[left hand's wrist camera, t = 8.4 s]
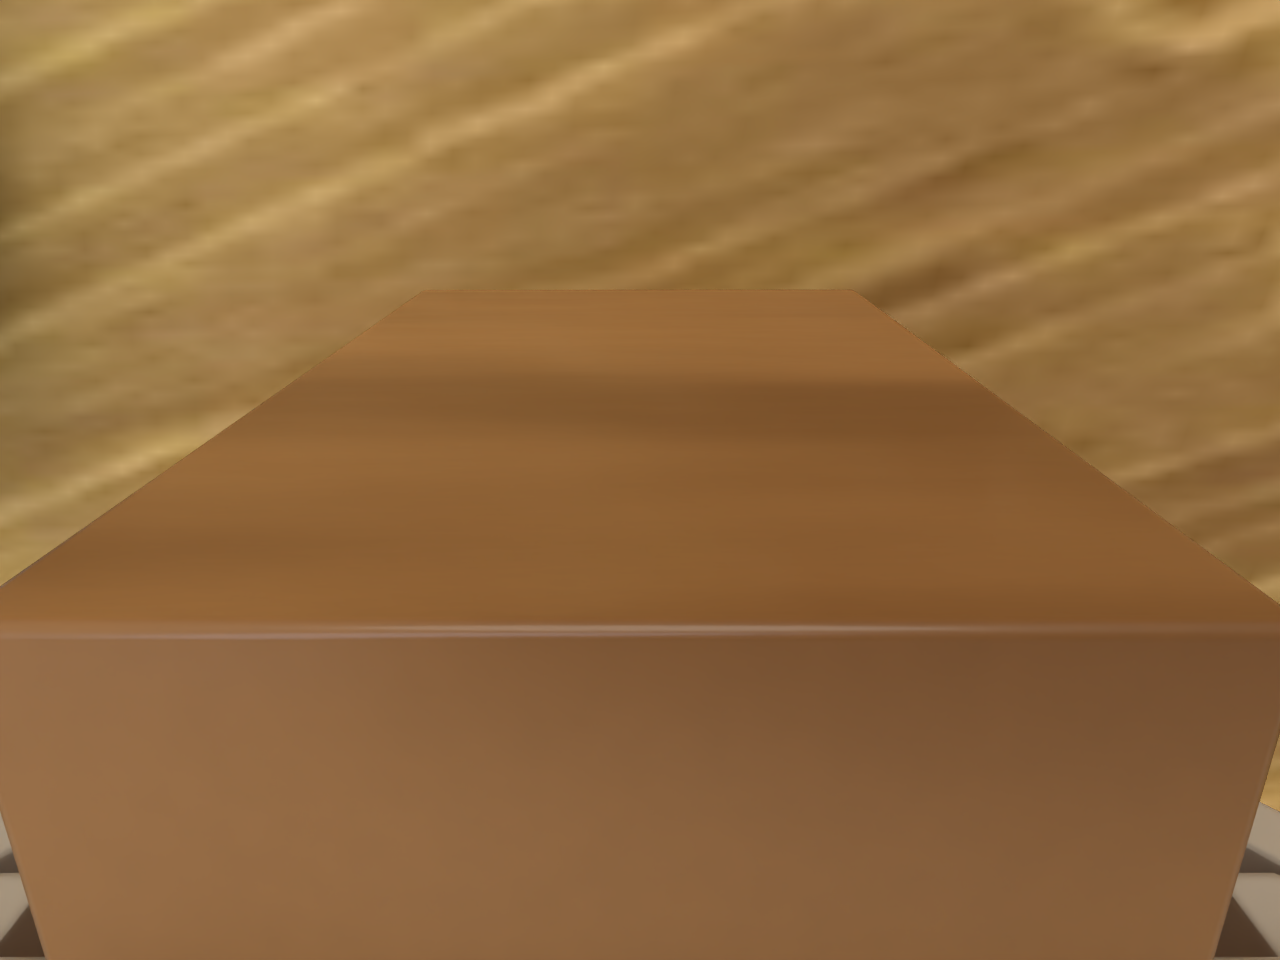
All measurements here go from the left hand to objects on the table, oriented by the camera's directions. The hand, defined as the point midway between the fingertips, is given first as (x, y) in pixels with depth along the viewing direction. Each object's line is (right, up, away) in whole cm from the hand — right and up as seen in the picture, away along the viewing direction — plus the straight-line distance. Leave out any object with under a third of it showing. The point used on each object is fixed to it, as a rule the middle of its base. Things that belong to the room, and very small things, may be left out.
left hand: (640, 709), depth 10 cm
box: (0, -6, +7) cm, 10 cm away
